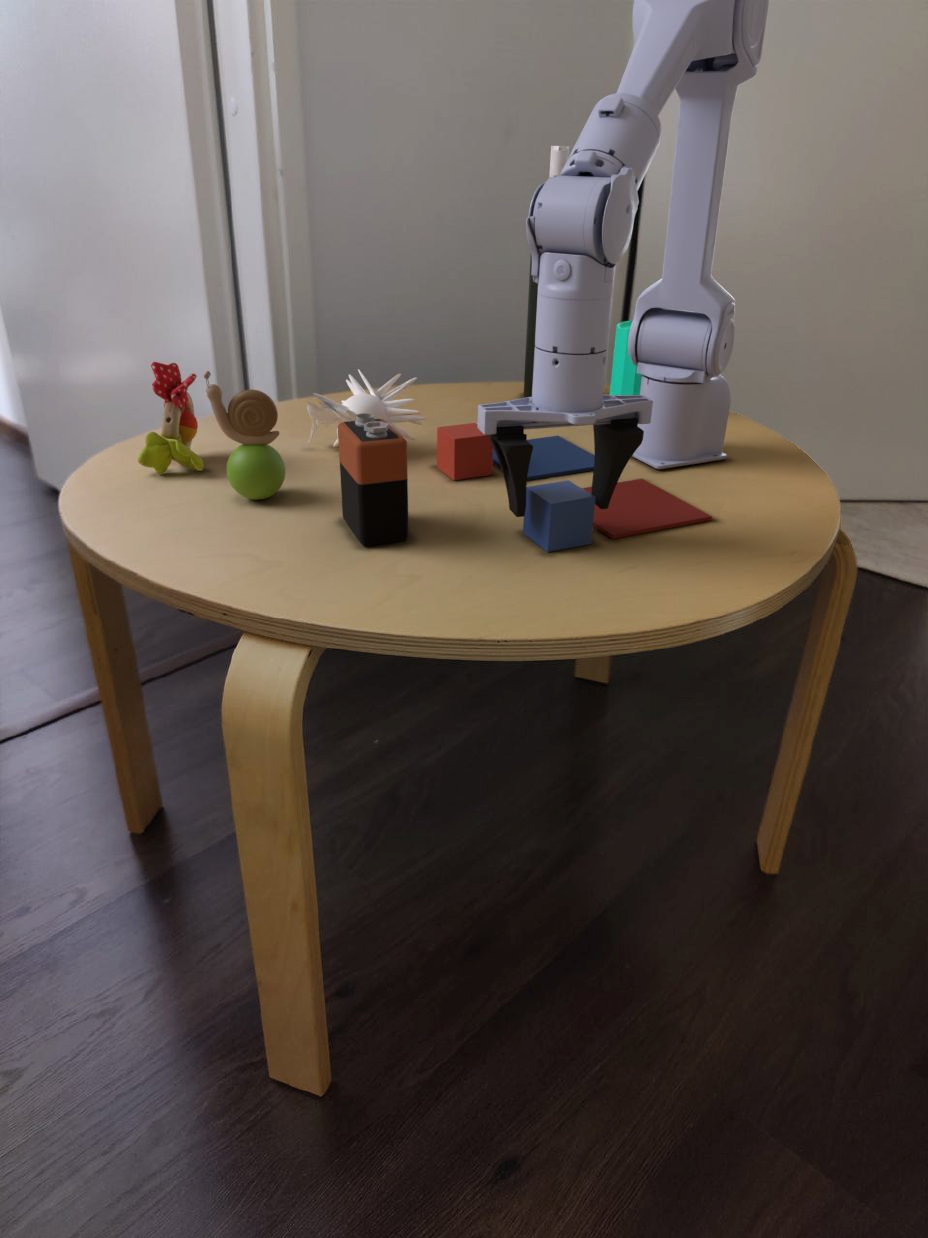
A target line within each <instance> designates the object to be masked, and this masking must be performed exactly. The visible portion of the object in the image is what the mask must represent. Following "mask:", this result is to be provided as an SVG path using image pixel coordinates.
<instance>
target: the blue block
mask: <svg viewBox="0 0 928 1238" xmlns="http://www.w3.org/2000/svg"><path fill="white" fill-rule="evenodd" d="M582 488H583V487H581V486H579V485H577V484H575V483H574V482H572V481H570V480H569V479H567V480H562V481H556V482H555V481H554V482H549V483H543V484H536V485H529V486H526V510H525V516H524V517H523V524H522V525H523V527H522V534H523V535H524V536H526V537H527V538H528V539H529V540H531V542H534V543H535V544H536V545H537V546H538V547H540V548H541V549H543V550H544V551H545V552H546V553H553V552H556V551H562V550H568V549H571V548H577V547H582V546H587V545H588V546H589V545H591V544H592V539H593V537H592V536H593V527H594V526H593V519H594V508H595V498H596V497H595V496H593V495H592V494H590V493H589V492H587V491H585V490H584V489H582Z"/></svg>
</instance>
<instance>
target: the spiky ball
mask: <svg viewBox="0 0 928 1238" xmlns="http://www.w3.org/2000/svg"><path fill="white" fill-rule="evenodd" d="M357 372H358V373H359V375H360V377H361V379H362V381H363V383H364V384H365V386H366V388H367V390H368V392H369V393H367V392H366V391H365V390H364V388H363V387H362V386H361V384H360V383H359V382H358V381H357V379H356V378H355V377H353V375H352V374H350V373H349V374H348V378H349V379H345V382H346V384H347V386H348V388H349V389H350V391H351V393H352V394H353V395H352V396H350V397H348V398H347V399H346V400H345V399H344V400H341V403H339V402H337V401H335V400H333V399H330V398H328V397H326V396H324V395H321V394H319V393H316V392H314V393H313V396H314V397H315V398H317V399H318V400H319V401H317V403H318V404H319V405H320V406H319V405H317V404H315V403H313V402H311V401H308V402H307V403H308V404H307V405H306V409H307V412H308V415H309V417H310V419H311V420H310V421H311V429H310V434H309V438H308V441H307V444H311V442H312V440H313V438H314V436H315V434H316V432H317V431H318V427H319V425H318V424H319V423H318V422H320V423H321V424H322V425H323V426H324V427H326V428H328V427H331V426H334V425H335V424H340V423H341V422H348V421H356V415H357V414H361V413H370V414H373V415H374V419H383V420H385V421H386V422H387V423H388V424H389V425H390V426H391V427H392V428H394V429H395V430H396V431H397V432H398V433H399V434H400V435H401V436H402V437H403V438H404V439H408V440H412V441H413V440H415V439H416V438H415V436H413V435H411V434H410V433H408V432H407V431H405V430H403V429H402V428H400V427H398V426H397V425H395V424H398V423H411V424H416V425H420V426H422V425H423V424H422V423H421V422H420V421H424V420H426V419H427V417H425V416H421V415H420V416H418V415H419V414H421V411H419V410H417V409H416V410H415V409H407V408H399V407H402V406H406V405H408V404H410V403H413V402H414V401H415V398H402V399H395V398H396V397H397V396H398V395H399V394H401V393H402V392H403V391H404V390H406V389H407V388H408V387H409V386H411V385H412V384H413V383H415V382H416V380H418V377H413V378H411V379H409V380H407V381H405V382H403V383H402V384H400V385H398V386H397V387H395V388H393V389H391V390H390V391H388V390H389V389H390V388H391V387H392V386H393V385H394V384H395V383H396V382H397V380H398V379H399V378H400V377H401V376H402V374H401V373H398V374H396V375H395V376H393V377H392V378H391V379H390V380H388V381H387V382H386V383H384V384H383V385H382V386H381V387H379V388H378V389H377V390H376V391H375V389H374V388H373V386H372V385H371V384H370V382H369V380H368V379H367V378H366V376H365V375H364V374H363V372H362V371H361V370H360V369H359V368H357ZM387 391H388V392H387ZM336 435H337V436H336V437H337V438H336V440H335V441H334V443H333V445H332V446H333V448H336V447H337V446H339V440H338V427H337V428H336Z"/></svg>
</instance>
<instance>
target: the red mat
mask: <svg viewBox="0 0 928 1238" xmlns="http://www.w3.org/2000/svg"><path fill="white" fill-rule="evenodd" d="M581 488H582V489H584V490H585V491H587V492H589V493H590V494H592V486H587V487H581ZM712 518H713V516H712V515H710V514H709V513H707V512H705V511H703V510H701V509H700V508H697V507H695V506H693V505H692V504H690V503H688V502H686V501H685V500H682V499H681V498H678V497H677V496H675V495H673V494H671V493H669V492H668V491H666V490H664V489H662V488H660V487H658V486H657V485H655V484H653V483H651V482H649V481H647V480H645V479H644V478H637V479H632V480H626V481H618V482H617V484H616V487H615V489H614V492H613V495H612V497H611V500H610V503H609V506H608V509H600V508H599V507H598V506H597V505H596V504H595V508H594V519H593V527H594V528H595V529H596V530H598V531H600V532H601V533H602V534H604V535H606V536H607V537H608V538H610V539H611V540H615V539H619V538H625V537H629V536H635V535H640V534H647V533H651V532H656V531H661V530H667V529H673V528H677V527H683V526H687V525H693V524H698V523H703V522H708V521H712Z"/></svg>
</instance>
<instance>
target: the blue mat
mask: <svg viewBox="0 0 928 1238" xmlns="http://www.w3.org/2000/svg"><path fill="white" fill-rule="evenodd" d="M527 441H528V442H529V443H530V444H531V445H532V446H533V451H532V455H531V459H530V464H529V469H528V476H527V481H531V480H539V479H544V478H546V479H547V478H551V477H557V476H558V477H559V476H564V475H571V474H577V473H584V472H585V473H586V472H591V471H594V460H595V454H592V453H591V452H589V451H587V450H585V449H584V448H581V447H580V446H578V445H576V444H574V443H572V442H571V441H568V440H567V439H565V438H564V437H561V436H560V435H553V436H544V437H537V438H531V439H530V438H529V439H527ZM492 464H494V465H495V466H497V467H499V469H501V466H500V463H499V460H498V458H497V455H496V453H495V450H494V448H493V461H492Z"/></svg>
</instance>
